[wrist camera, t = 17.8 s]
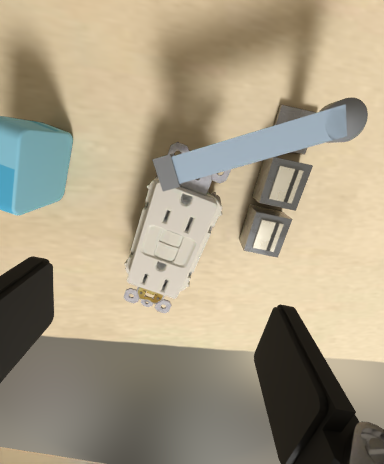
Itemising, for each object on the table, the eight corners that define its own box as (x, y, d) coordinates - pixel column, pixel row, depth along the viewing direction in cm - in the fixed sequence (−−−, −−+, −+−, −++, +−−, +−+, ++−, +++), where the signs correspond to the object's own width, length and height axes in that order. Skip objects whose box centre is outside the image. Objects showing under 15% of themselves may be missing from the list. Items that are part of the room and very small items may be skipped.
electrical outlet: (236, 161, 37) (246, 171, 28) (180, 287, 49) (174, 323, 40) (170, 134, 36) (158, 135, 27) (129, 270, 48) (110, 303, 39)
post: (279, 106, 35) (315, 87, 24) (316, 114, 35) (368, 99, 24) (267, 146, 37) (294, 145, 26) (302, 154, 37) (343, 156, 26)
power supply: (264, 155, 37) (274, 157, 32) (298, 163, 38) (314, 165, 32) (252, 196, 40) (259, 203, 35) (284, 203, 40) (296, 211, 35)
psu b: (249, 204, 40) (256, 212, 35) (281, 211, 41) (293, 220, 35) (239, 239, 43) (244, 251, 38) (269, 245, 43) (278, 258, 38)
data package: (48, 123, 37) (-19, 112, 26) (74, 133, 37) (20, 127, 26) (39, 190, 41) (-22, 207, 30) (63, 199, 41) (12, 218, 30)
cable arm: (350, 97, 24) (369, 91, 21) (352, 136, 25) (369, 135, 22) (156, 156, 27) (151, 157, 24) (166, 189, 28) (163, 193, 25)
